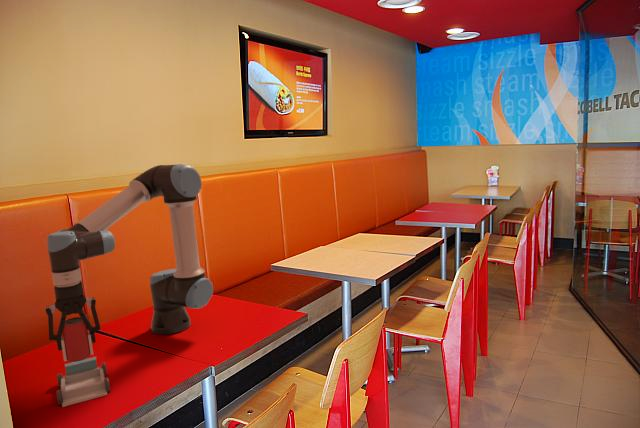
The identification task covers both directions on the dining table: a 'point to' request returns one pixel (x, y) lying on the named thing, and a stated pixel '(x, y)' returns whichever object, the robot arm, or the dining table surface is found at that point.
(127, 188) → the robot arm
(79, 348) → the beer can
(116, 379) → the dining table surface
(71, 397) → the chassis
